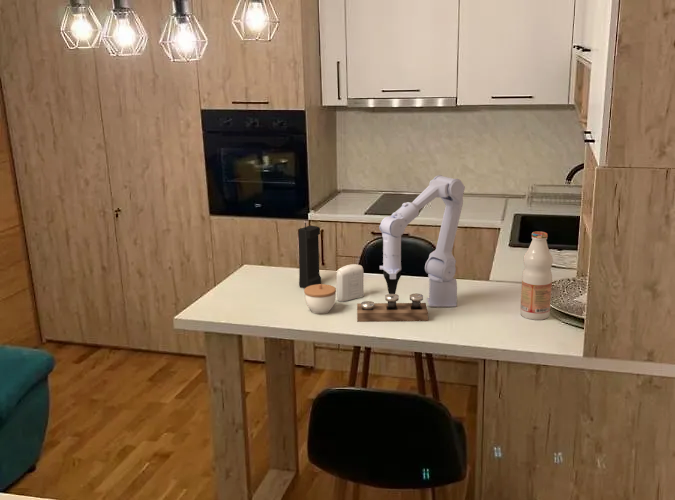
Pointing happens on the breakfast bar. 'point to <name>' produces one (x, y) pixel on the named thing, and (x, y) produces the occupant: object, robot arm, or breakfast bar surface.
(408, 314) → the bar
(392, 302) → the knob middle
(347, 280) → the photo printer
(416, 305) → the knob
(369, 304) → the knob
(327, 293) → the lidded jar
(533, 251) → the fruit juice
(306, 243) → the portable radio
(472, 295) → the breakfast bar surface
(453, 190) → the robot arm
